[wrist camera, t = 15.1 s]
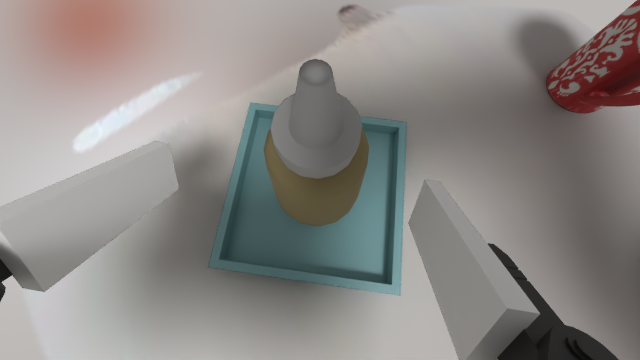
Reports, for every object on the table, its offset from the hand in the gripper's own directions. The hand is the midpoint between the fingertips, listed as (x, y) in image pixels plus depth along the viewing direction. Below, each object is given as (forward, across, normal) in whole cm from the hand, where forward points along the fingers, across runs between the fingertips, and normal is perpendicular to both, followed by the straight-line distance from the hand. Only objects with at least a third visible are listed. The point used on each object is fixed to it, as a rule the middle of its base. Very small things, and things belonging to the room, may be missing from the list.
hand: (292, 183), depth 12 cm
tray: (+12, +1, -8) cm, 14 cm away
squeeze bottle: (+11, +1, -7) cm, 14 cm away
